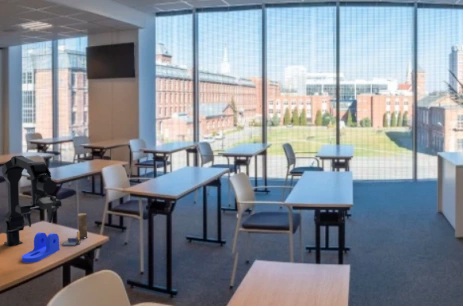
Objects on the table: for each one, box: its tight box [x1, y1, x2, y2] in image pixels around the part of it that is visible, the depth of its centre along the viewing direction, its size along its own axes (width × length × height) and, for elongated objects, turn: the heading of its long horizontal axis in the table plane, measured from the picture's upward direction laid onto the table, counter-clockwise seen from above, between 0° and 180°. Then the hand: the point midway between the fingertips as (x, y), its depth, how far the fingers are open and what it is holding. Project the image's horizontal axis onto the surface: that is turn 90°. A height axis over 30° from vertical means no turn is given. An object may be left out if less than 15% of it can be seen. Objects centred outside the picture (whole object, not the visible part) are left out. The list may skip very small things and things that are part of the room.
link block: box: [77, 212, 88, 239], centre depth 232 cm, size 4×4×12 cm
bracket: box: [21, 231, 60, 264], centre depth 204 cm, size 18×8×9 cm, turn 167°
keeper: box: [62, 231, 82, 247], centre depth 221 cm, size 7×6×6 cm
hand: (40, 224), depth 202 cm, fingers open, 9 cm apart
